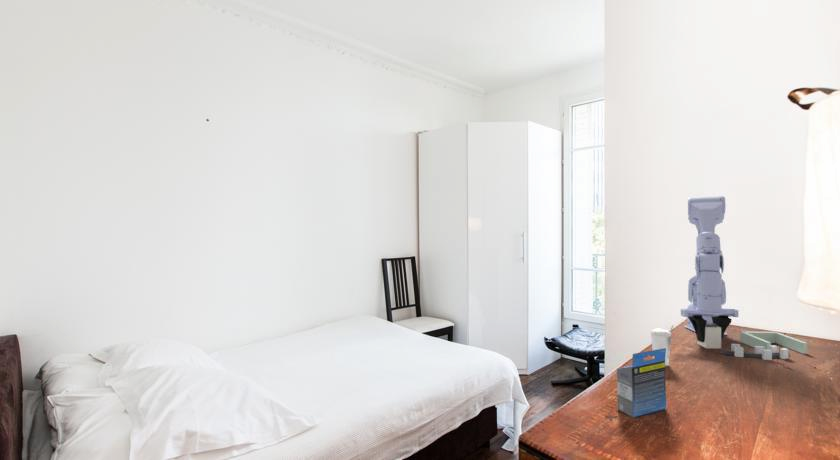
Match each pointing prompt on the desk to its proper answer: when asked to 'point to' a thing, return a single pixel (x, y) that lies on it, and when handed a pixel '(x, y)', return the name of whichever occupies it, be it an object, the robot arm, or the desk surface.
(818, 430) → the desk surface
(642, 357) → the label tape cartridge
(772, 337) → the holder
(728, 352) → the cable
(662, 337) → the milkshake
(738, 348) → the clips
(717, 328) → the block
